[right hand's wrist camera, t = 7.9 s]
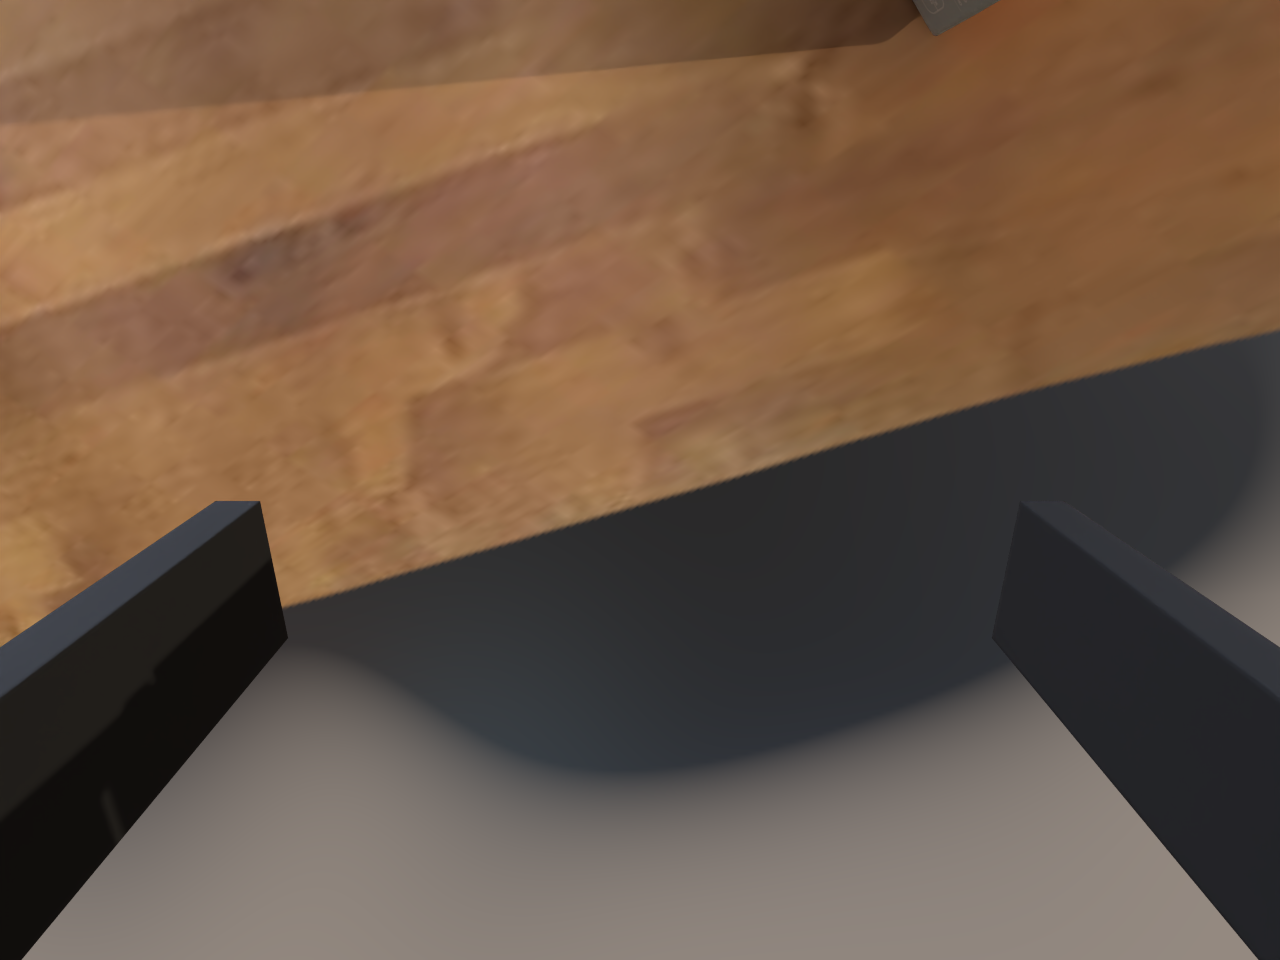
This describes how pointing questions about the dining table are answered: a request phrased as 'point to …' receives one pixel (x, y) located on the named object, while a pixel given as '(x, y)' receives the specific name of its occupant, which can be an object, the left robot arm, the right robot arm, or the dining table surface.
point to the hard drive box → (949, 12)
